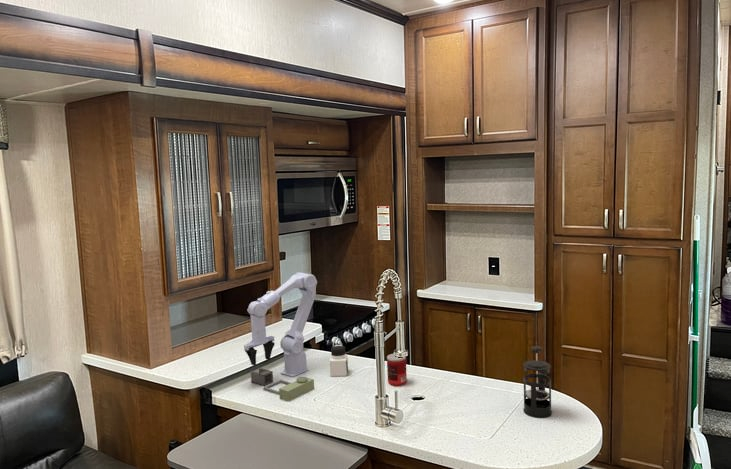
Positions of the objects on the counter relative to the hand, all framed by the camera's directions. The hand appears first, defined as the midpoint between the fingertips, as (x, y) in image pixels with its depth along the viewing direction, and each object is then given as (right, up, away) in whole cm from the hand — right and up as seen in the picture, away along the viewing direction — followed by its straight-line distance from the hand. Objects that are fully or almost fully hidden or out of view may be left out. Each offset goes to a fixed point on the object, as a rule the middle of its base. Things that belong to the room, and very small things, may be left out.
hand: (260, 362), depth 218 cm
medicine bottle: (+32, -7, +7) cm, 34 cm away
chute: (0, -9, +1) cm, 9 cm away
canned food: (+57, -7, -6) cm, 57 cm away
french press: (+103, -8, -37) cm, 110 cm away
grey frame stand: (+12, -9, -8) cm, 17 cm away
